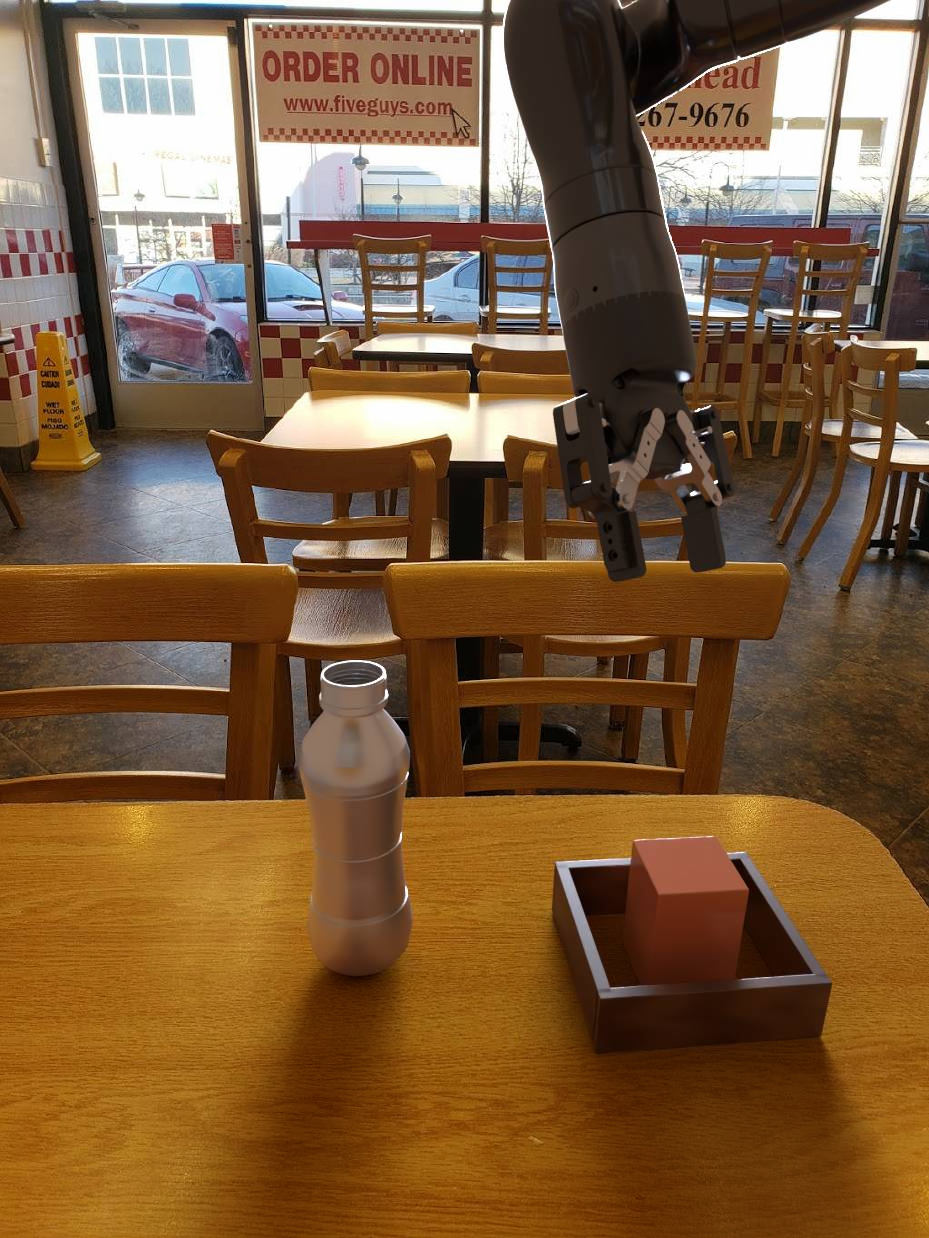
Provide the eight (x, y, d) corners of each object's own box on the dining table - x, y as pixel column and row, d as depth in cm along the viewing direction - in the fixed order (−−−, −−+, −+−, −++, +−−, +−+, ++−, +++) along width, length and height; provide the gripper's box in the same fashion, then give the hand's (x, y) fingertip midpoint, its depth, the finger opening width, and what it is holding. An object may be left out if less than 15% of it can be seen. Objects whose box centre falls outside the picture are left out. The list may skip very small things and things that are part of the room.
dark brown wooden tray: (739, 898, 67) (746, 851, 65) (821, 1036, 55) (832, 982, 54) (551, 909, 65) (554, 861, 64) (595, 1053, 54) (600, 998, 52)
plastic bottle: (426, 974, 59) (429, 687, 52) (321, 1002, 57) (308, 706, 49) (395, 911, 65) (393, 644, 57) (298, 934, 62) (283, 659, 55)
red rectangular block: (701, 936, 63) (716, 835, 60) (732, 996, 58) (749, 889, 55) (621, 941, 62) (632, 839, 59) (645, 1002, 57) (658, 894, 54)
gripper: (597, 268, 49) (654, 571, 49) (737, 303, 59) (786, 556, 58) (497, 321, 55) (547, 595, 54) (641, 346, 65) (684, 577, 64)
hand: (671, 574), depth 56 cm, fingers open, 8 cm apart
